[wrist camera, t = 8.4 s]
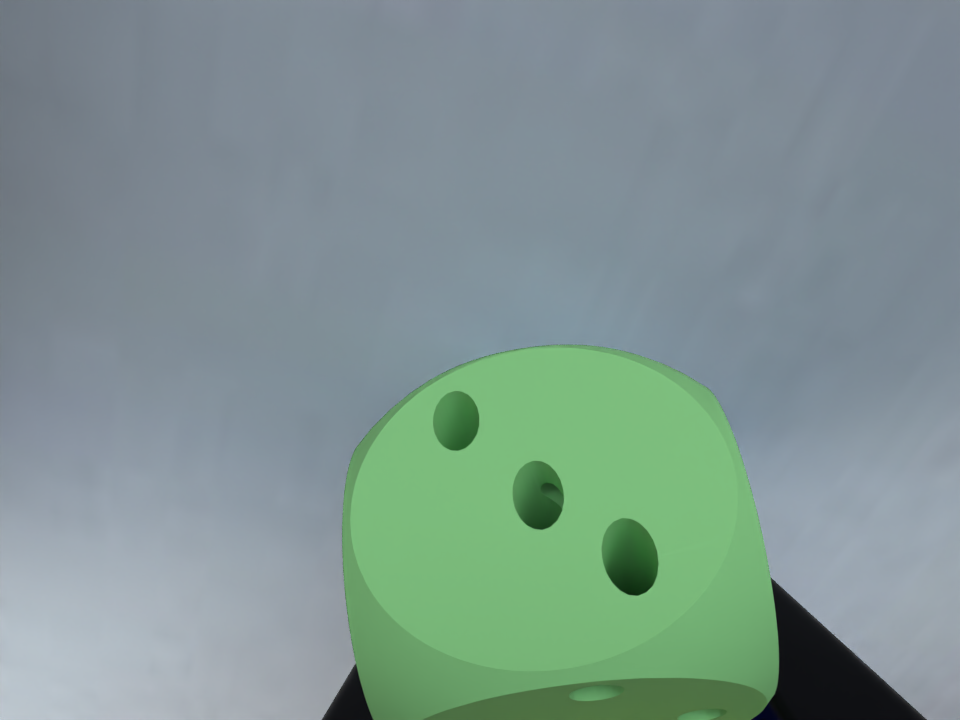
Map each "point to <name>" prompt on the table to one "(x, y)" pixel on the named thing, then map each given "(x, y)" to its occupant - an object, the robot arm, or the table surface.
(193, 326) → the table surface
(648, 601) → the dice
